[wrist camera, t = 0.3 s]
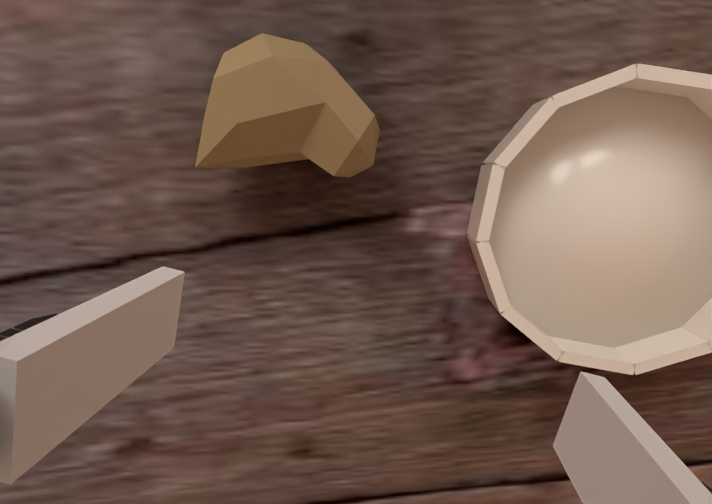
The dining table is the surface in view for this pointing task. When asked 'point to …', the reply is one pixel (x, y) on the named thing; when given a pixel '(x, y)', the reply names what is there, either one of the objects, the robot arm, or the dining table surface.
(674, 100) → the cream bowl
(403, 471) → the dining table surface
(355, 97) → the low-poly potato
